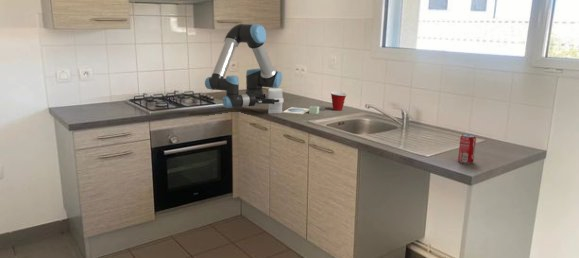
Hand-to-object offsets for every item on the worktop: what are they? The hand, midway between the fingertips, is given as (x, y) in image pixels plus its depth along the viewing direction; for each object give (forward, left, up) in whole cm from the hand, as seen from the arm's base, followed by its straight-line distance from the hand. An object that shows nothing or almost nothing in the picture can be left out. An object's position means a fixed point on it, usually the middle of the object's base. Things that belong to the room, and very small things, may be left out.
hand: (279, 98), depth 284 cm
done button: (-4, +22, -8) cm, 24 cm away
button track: (-8, +22, -9) cm, 25 cm away
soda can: (+64, +112, -9) cm, 129 cm away
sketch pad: (-5, +10, -9) cm, 14 cm away
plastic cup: (-20, +34, -9) cm, 41 cm away
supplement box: (+2, -2, -9) cm, 10 cm away
